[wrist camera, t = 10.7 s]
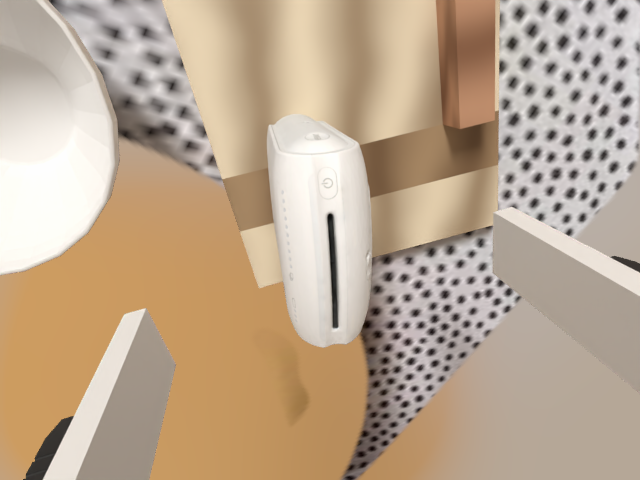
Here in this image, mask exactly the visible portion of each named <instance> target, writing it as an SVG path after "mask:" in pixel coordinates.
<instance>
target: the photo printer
mask: <svg viewBox="0 0 640 480" xmlns="http://www.w3.org/2000/svg"><path fill="white" fill-rule="evenodd" d="M267 158H268V171H269V182H270V193H271V203H272V211H273V219H274V227H275V234H276V240H277V246H278V252H279V259H280V265H281V271H282V277H283V283H284V290H285V296H286V302H287V308H288V312H289V316H290V319H291V321H292V324H293V326H294V328H295V330H296V332H297V334H298V335H299V336H300V337H301V338H302V339H303V340H305V341H306V342H308V343H310V344H312V345H315V346H319V347H327V346H330V345H333V344H348V343H350V342H351V341H353V340H354V339H355V338H356V337H357V336H358V335H359V333H360V331H361V329H362V326H363V324H364V321H365V318H366V314H367V311H368V307H369V300H370V291H371V275H372V220H371V203H370V190H369V185H368V179H367V173H366V167H365V163H364V159H363V155H362V152H361V148H360V146H359V143H358V142H356V141H355V140H353V139H351V138H350V137H348V136H346V135H345V134H343V133H342V132H340V131H338V130H337V129H335V128H333V127H332V126H330V125H329V124H327V123H326V122H324V121H315V120H314V119H312V118H310V117H308V116H306V115H302V114H291V115H288V116H285V117H283V118H281V119H280V120H279V121H277V122H276V124H274V125H269V126H268V133H267Z"/></svg>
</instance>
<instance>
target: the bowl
mask: <svg viewBox="0 0 640 480" xmlns="http://www.w3.org/2000/svg"><path fill="white" fill-rule="evenodd" d="M119 161H120V158H119V141H118V124H117V118H116V115H115V112H114V109H113V106H112V103H111V100H110V97H109V94H108V91H107V88H106V85H105V82H104V79H103V76H102V74H101V72H100V71H99V69H98V67H97V66H96V64H95V62H94V61H93V59H92V57H91V56H90V54H89V53H88V51H87V49H86V48H85V46H84V44H83V43H82V41H81V39H80V38H79V36H78V34H77V33H76V31H75V29H74V28H73V27H72V26H71V25H70V24H69V23H68V22H67V21H66V20H65V18H64V17H63V16H62V15H61V14H60V13H59V12H58V11H57V10H56V9H55V8H54V6H53V5H52V4H51V3H50V2H49V1H48V0H0V275H5V274H11V273H17V272H23V271H26V270H29V269H31V268H33V267H36V266H38V265H40V264H43V263H45V262H47V261H50V260H51V259H54V258H56V257H59V256H61V255H62V254H63V253H64V252H66V251H67V250H68V249H69V248H70V247H72V246H73V245H74V244H75V243H77V242H78V241H79V240H80V239H81V238H82V237H84V236H85V235H86V234H88V232H89V231H90V229H91V228H92V226H93V225H94V223H95V221H96V220H97V218H98V216H99V215H100V213H101V212H102V210H103V208H104V207H105V205H106V204H107V202H108V200H109V199H110V197H111V195H112V191H113V186H114V182H115V178H116V174H117V170H118V165H119Z"/></svg>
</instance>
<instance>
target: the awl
mask: <svg viewBox="0 0 640 480" xmlns="http://www.w3.org/2000/svg"><path fill="white" fill-rule="evenodd" d="M436 14H437V31H438V49H439V67H440V84H441V102H442V120H443V125H447V126H451V127H454V128H458V129H462V128H466V127H470V126H474V125H478V124H482V123H486V122H490V121H494V120H495V0H436Z"/></svg>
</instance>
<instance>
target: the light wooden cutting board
mask: <svg viewBox="0 0 640 480" xmlns="http://www.w3.org/2000/svg"><path fill="white" fill-rule="evenodd" d="M162 2H163V5H164V8H165V11H166V14H167V17H168V20H169V23H170V26H171V29H172V32H173V35H174V38H175V41H176V44H177V46H178V49H179V52H180V55H181V58H182V61H183V64H184V67H185V70H186V73H187V76H188V79H189V82H190V85H191V88H192V91H193V94H194V97H195V100H196V103H197V106H198V109H199V112H200V115H201V118H202V121H203V124H204V127H205V130H206V133H207V135H208V138H209V141H210V144H211V147H212V150H213V153H214V156H215V159H216V162H217V165H218V168H219V171H220V174H221V177H222V180H223V183H224V186H225V189H226V192H227V195H228V198H229V201H230V203H231V207H232V209H233V212H234V215H235V219H236V221H237V224H238V227H239V230H240V233H241V236H242V239H243V242H244V245H245V248H246V251H247V254H248V257H249V260H250V263H251V266H252V269H253V272H254V275H255V278H256V281H257V284H258V287H259V288H261V287H265V286H268V285H273V284H276V283H280V282H283V277H282V271H281V265H280V259H279V252H278V246H277V240H276V234H275V227H274V219H273V211H272V203H271V193H270V182H269V171H268V158H267V133H268V126H269V125H274V124H276V122H277V121H279V120H280V119H281V118H283V117H285V116H288V115H291V114H302V115H306V116H308V117H310V118H312V119H314V120H315V121H324V122H326V123H327V124H329V125H330V126H332V127H333V128H335V129H337V130H338V131H340V132H342V133H343V134H345V135H346V136H348V137H350V138H351V139H353V140H355V141H356V142H358V143H359V146H360V148H361V152H362V155H363V159H364V163H365V167H366V173H367V179H368V185H369V190H370V203H371V220H372V258H373V257H377V256H380V255H384V254H388V253H392V252H395V251H399V250H403V249H406V248H410V247H414V246H418V245H421V244H425V243H429V242H432V241H436V240H440V239H444V238H447V237H451V236H455V235H458V234H462V233H466V232H470V231H473V230H477V229H481V228H484V227H488V226H492V225H493V212H496V211H498V126H499V13H500V0H495V120H494V121H490V122H486V123H482V124H478V125H474V126H470V127H466V128H462V129H458V128H454V127H451V126H447V125H443V120H442V102H441V84H440V67H439V49H438V31H437V14H436V0H162Z"/></svg>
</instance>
